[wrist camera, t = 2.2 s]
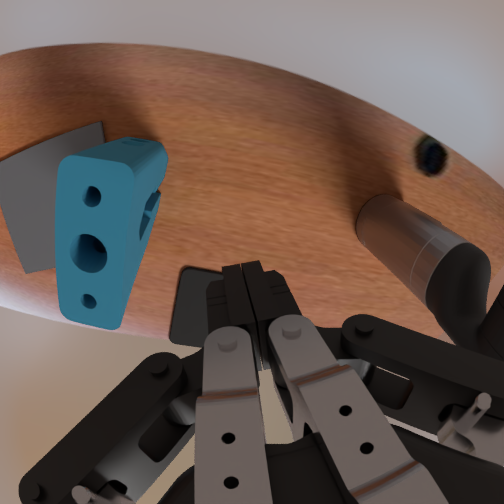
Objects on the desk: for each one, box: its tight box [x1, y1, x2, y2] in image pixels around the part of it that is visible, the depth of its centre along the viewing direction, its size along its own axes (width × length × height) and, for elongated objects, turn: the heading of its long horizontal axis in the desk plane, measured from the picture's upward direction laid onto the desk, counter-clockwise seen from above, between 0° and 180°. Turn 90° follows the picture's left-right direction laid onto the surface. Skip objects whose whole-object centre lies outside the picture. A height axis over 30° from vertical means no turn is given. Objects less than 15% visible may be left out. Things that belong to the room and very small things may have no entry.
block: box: [55, 137, 168, 330], centre depth 25 cm, size 12×5×20 cm, turn 163°
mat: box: [0, 121, 105, 274], centre depth 32 cm, size 20×18×1 cm
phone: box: [170, 267, 223, 348], centre depth 43 cm, size 7×1×15 cm
